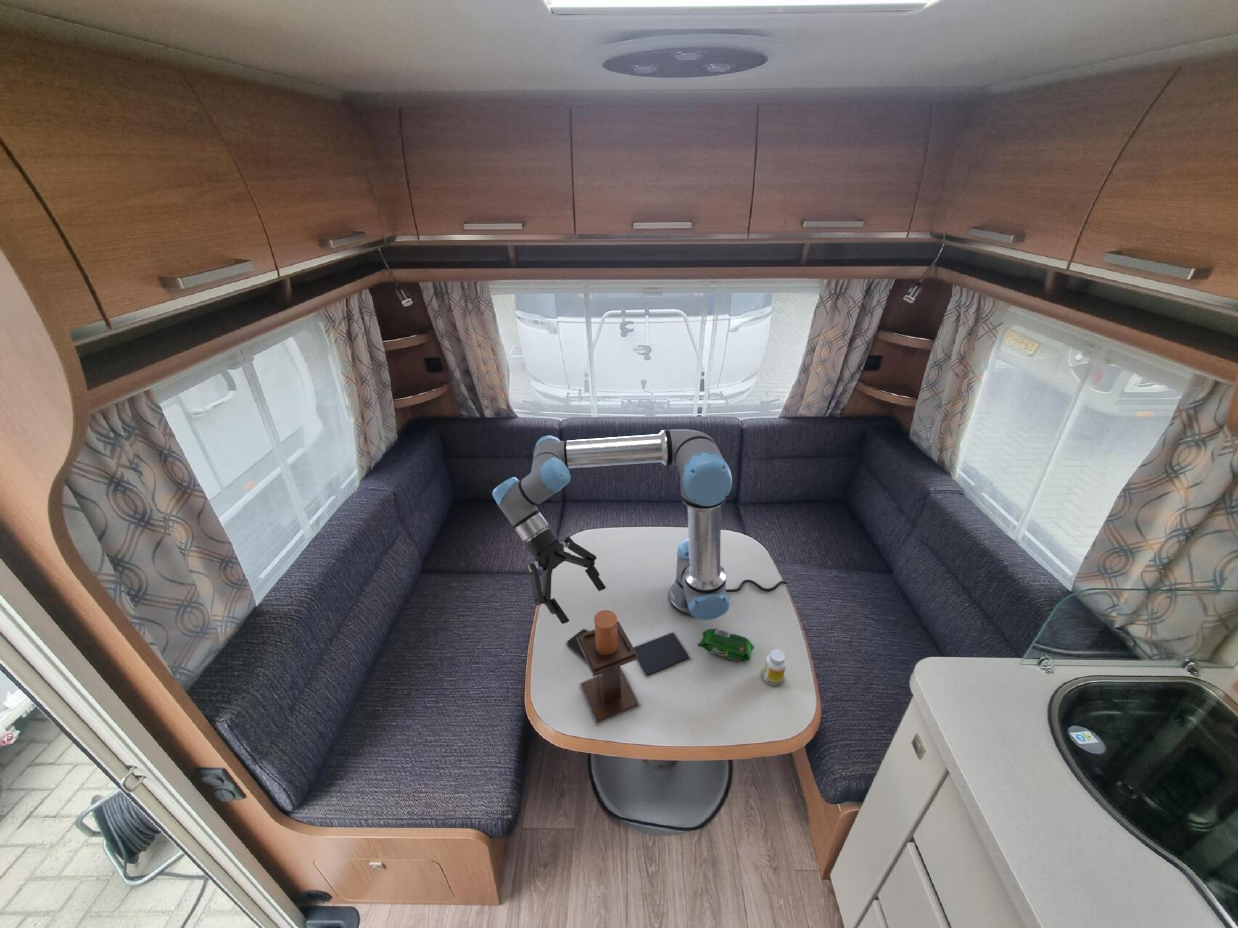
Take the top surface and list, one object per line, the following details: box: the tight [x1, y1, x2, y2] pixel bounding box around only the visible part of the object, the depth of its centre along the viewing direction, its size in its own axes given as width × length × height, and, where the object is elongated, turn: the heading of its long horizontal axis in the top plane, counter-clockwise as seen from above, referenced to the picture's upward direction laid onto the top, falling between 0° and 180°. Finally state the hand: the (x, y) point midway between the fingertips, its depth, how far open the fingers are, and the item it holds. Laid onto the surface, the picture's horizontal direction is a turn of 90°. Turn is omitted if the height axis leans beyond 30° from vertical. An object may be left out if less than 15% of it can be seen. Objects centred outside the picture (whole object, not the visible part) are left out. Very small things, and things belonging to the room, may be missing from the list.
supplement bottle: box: [762, 648, 787, 686], centre depth 135 cm, size 5×5×10 cm
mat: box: [633, 632, 690, 677], centre depth 144 cm, size 14×10×1 cm
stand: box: [577, 620, 639, 724], centre depth 128 cm, size 12×12×21 cm
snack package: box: [697, 628, 755, 663], centre depth 144 cm, size 7×16×5 cm, turn 69°
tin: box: [593, 609, 618, 656], centre depth 121 cm, size 6×6×10 cm
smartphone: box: [566, 628, 590, 663], centre depth 145 cm, size 8×1×16 cm
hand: (584, 605), depth 121 cm, fingers open, 13 cm apart
